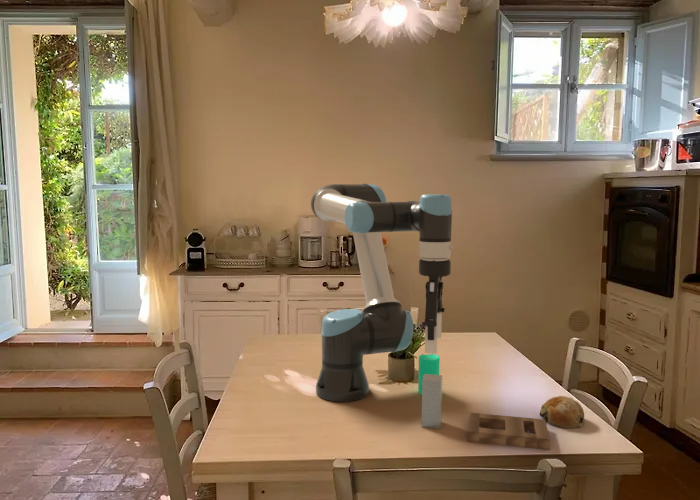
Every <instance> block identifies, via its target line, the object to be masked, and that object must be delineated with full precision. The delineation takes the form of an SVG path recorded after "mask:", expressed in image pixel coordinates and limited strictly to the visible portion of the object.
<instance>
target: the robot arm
mask: <svg viewBox="0 0 700 500" xmlns="http://www.w3.org/2000/svg"><path fill="white" fill-rule="evenodd" d="M452 206H453V205H452V197H451V196H450V194H448V193H447V194H446V193H445V194H441V193H440V194H439V193H438V194H437V193H434V194H429V193H426V194H425V193H424V194H422V195H421V196H420V197H419V201H417V200H407V201H387V198H386V195H385V192H384V191H383V189H382V188H381V187H380V186H378V185H376V184H369V183H362V184H357V183H356V184H353V183H352V184H351V183H349V184H347V183H346V184H343V183H340V184H338V183H333V184H328V185H324V186H322V187H320V188H319V189H317V190H316V191H315V192H314V194H313V195H312V197H311V199H310V208H311V210H312V213H313V214H314V215H315V217H317V218H318V219H319V220H322V221H325V222H338V223H341V224H343V225H345V227H346V229H347V230H348V232H350V233H352V236H353V241H354V246H355V250H356V251H355V252H356V256H357V262H358V267H359V268H358V269H359V271H360V277H361V283H362V287H363V293H364V298H365V304H366V305H364V307H362V310H361V309H358V308H349V309H348V308H343V309H338V310H334V311H331V312H329V313H327V314H326V315H325V316H324V317H323V318H322V321H321V330H320V332H321V333H320V334H321V369H320V372H319V375H318V378H317V381H316V384H315V385H316V386H315V387H316V388H315V394H316V396H317V397H319V398H321V399H324V400H327V401H331V402H341V403H342V402H354V401H358V400H361V399H364V398H365V397H367V396H368V395H369V392H370V384H369V382H368V378H367V375H366V371H365V369H364V365H363V364H364V356H366V355H375V354H384V353H395V352H400V351H403V350H406V349H407V348H408V347H409V346H410V344H411V342H412V339H413V334H414V322H413V316H412V315H411V314H410V311H408V310H405V309H403V308H402V302H400V300H398V299H396V298H395V295H394V290H393V285H392V278H391V276H390V271H389V266H388V261H387V257H386V251H385V246H384V243H383V237H382V233H386V232H387V233H393V232H394V233H396V232H400V233H401V232H417V233H419V241H418V257H420V259H419V261H418V274H419V275H420V276H423V277H428V280H427V281H426V282H425V286H424V288H425V310H424V311H425V313H424V314H425V315H424V321H421V322H422V323H421V325H422V326H423V327H424V329H425V330H424V331H425V332H424V354H436V355H438V354H437V353H438V339H442V329H443V328H442V325H443V324H442V322H443V321H442V319H443V318H442V317H443V314H442V313H445V307H443V306H444V305H443V290H444V282H443V281H442V280H443V279H442V278H443V277H444V278H445V277H448V276H450V275H451V272H452V271H451V269H452V268H451V265H452V264H451V260H450V258H451V255H452V253H451V252H452V251H451V250H454V245H452V241H451V240H452V225H453V224H452V222H453V221H452V220H453V208H452Z"/></svg>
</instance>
